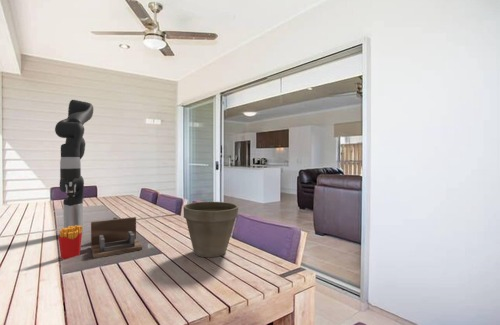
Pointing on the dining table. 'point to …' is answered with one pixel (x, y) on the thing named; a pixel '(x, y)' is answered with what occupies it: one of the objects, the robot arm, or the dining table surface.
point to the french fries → (70, 241)
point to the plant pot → (210, 226)
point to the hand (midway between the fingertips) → (70, 204)
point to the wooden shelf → (114, 237)
